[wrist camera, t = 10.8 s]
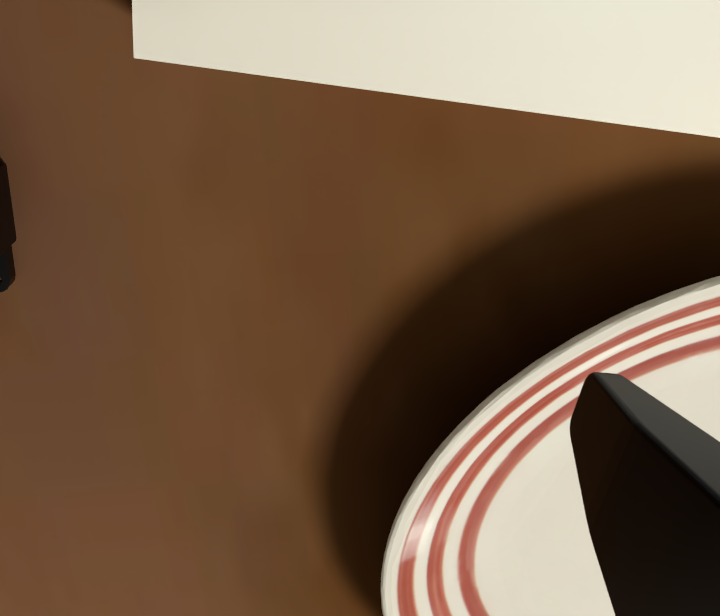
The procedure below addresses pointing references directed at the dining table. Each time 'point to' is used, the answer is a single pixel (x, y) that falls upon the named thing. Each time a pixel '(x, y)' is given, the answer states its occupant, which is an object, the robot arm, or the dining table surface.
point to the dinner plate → (541, 471)
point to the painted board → (466, 51)
